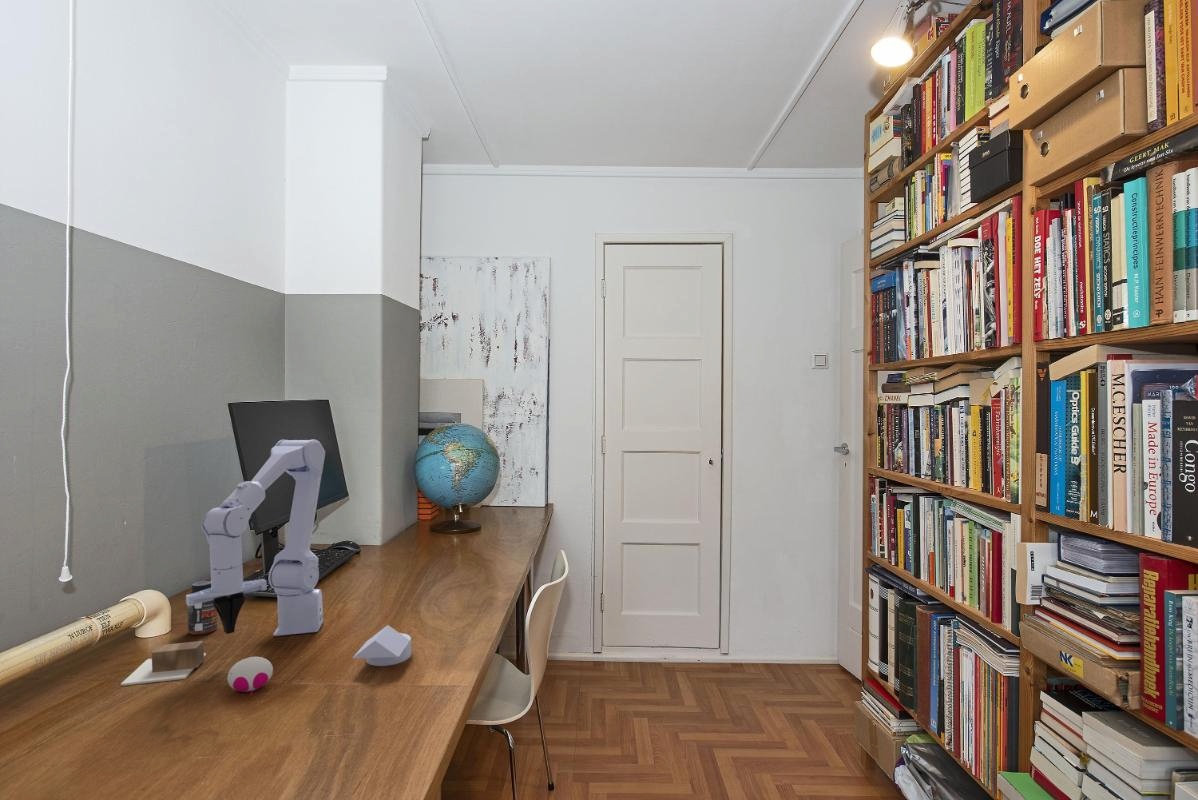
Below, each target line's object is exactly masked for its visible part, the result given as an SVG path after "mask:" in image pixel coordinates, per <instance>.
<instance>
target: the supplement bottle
mask: <svg viewBox="0 0 1198 800" xmlns="http://www.w3.org/2000/svg"><path fill="white" fill-rule="evenodd" d="M209 588H211V580H201V581H196V582H193V583H192V584H191V592H190V593H189V594H192V593H196V592H199V591H203V590H206V589H209ZM218 619H219V618H218V612H217V610H216V609H215V607H214V605H213V604H212V602H211V601H208V602H203V603H198V604H195V605H194V606H188V605H187V630H188V633H189V634H190V635H193V636H194V635H195V636H196V635H197V636H200V635H206V634H207V635H208V634H210V633H212V632H215V631H216V630H217V629H218V623H219V622H218Z"/></svg>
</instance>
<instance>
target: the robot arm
mask: <svg viewBox="0 0 1198 800" xmlns="http://www.w3.org/2000/svg"><path fill="white" fill-rule="evenodd" d="M325 457H326V450H325V449H324V447H323V445H322V444H321V442H320V441H319V440H317V439H304V440H303V439H299V440H298V439H293V440H290V439H289V440H288V439H280V440H279V441H277V443H276V444H275V445H274V446H273V447H272V448H271V449H270V456H269V458H268V459H267V460H266V462H265V463H264V464H263V466H262V467H261V468H260V469H259V471H258V472H257V473H256V474H255V476H254V477H253V478H252V479H251V480H250V481H249V480H248V481H247V480H246V481H243V482H239V483H238V484H237V485H236V486H235V487H236V488H235V489H234V491H232V492H231V494H230V495H229V496H228V497H227V498H226V499H224V501H222V503H221V504H220V506H219V507H214V508H213V507H212V509H210V510H209V511H208V512H207V513H206V514H205V515H204V517H203V520H202V521H203V522H202V523H201V524H200V527H201V530H202V532H203V533H204V535H205V536H206V543H207V544H208V545H209V562H210V565H209V566H210V581H211V588H209V589H206V590H203V591H199V592H196V593H192V594H190V593H189V594H186V595H185V602H186V603H185V605H186V606H187V607H188V606H194V605H195V604H198V603H203V602H208V601H211V602H212V604H213V605H214V607H215V609H216V610H217V615H218V616H219V618H220V621H221V624H222V628H223V632H224V633H225V634H226V635H228V634H232V633H235V630H236V624H237V621H238V616H239V614H240V612H241V609H242V607H243V605H244V604H245V600H246V597H245V595H244V594H249V593H253V592H256V591H266V590H267V589H268V588H267V586H268V585H267V583H268V584H269V586H270V587H271V588H272V589H274V593H275V594H277V596H276V597H277V619H278V620H277V621H278V627H276V629H275V631H274V632H273V635H272V636H274V637H280V636H289V635H290V636H291V635H297V634H300V635H301V634H307V633H310V634H311V633H317V632H319V631H320V628H321V626H322V624H323V623H324V613H323V593H322V589H319V588H315V586H317V584H318V581H319V578H320V577H319V576H320V571H319V559H320V558H319V557H318V556H317V555H316V554H315V553H314V552H313V551H312V550H311V545H312V544H311V543H312V536H313V531H314V525H315V518H316V512H317V505H318V501H319V494H320V488H321V487H320V486H321V480H322V474H323V470H324V463H325ZM285 472H286V473H287V474H288V475H289V476H291V477H292V478H293V479H294V481H295V487H294V491H293V492H294V493H293V498H292V505H291V508H290V509H291V510H290V515H289V522H288V528H287V534H286V539H285V540H286V541H285V545H284V548H283V549H282V550H280V551H279V552H278V553H277V554H276V555H275V556H274V559H273V563H272V565H271V568H270V569H269V572H268V582H267V580H266V579H264V578H261V579H255V580H248V581H247V580H245V581H244V573H243V571H244V570H243V546H242V543H243V542H242V534H243V533H244V532H246V531H247V528H248V526H249V520H250V519H251V516H252V514H253V513H254V511H256V509H257V508H258V507H259V506H260V505H261V503H262V502H263V501H264V500H265V499H266V490H267V489H268V488H270V486H271V485H273V484H274V483H275V481H276V480H277V479H278V478H279V477H281V476H282V475H283V474H284V473H285ZM293 561H299V562H293Z"/></svg>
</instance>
